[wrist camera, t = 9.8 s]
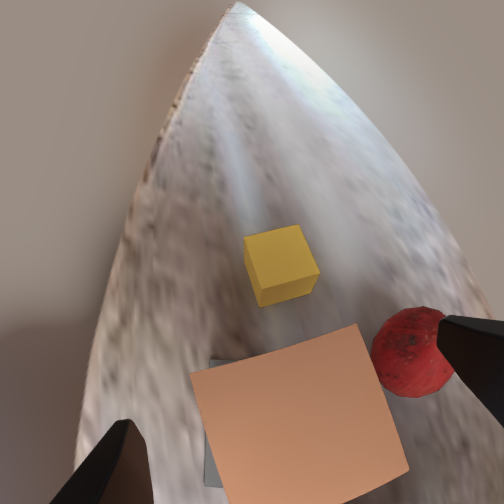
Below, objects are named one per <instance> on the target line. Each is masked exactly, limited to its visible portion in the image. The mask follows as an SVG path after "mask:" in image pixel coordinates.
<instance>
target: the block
mask: <svg viewBox="0 0 504 504" xmlns="http://www.w3.org/2000/svg"><path fill="white" fill-rule="evenodd" d="M244 263H245V266H246V269H247V272H248V275H249V278H250V281H251V284H252V287H253V290H254V293H255V296H256V299H257V302H258V305H259V308H261V307H265V306H268V305H272V304H275V303H279V302H282V301H286V300H289V299H293V298H296V297H300V296H303V295H306V294H310V293H311V292H312V289H313V287H314V285H315V283H316V281H317V279H318V276H319V274H320V271H319V269H318V267H317V264H316V262H315V260H314V258H313V255H312V253H311V251H310V248H309V246H308V244H307V242H306V239H305V237H304V235H303V233H302V231H301V228H300V226H299V224H297V225H292V226H288V227H284V228H280V229H275V230H271V231H267V232H263V233H259V234H254V235H250V236H246V237H244Z"/></svg>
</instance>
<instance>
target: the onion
mask: <svg viewBox="0 0 504 504" xmlns="http://www.w3.org/2000/svg"><path fill="white" fill-rule="evenodd" d="M444 317H446V316H445V315H444V314H443V313H442V312H440V311H439V310H435V309H431V308H428V307H424V306H422V307H416V308H408V309H404V310H402V311H400V312H399V313H397V314H396V315H394V316H392V317H391V318H389V319H388V320H387V321H386V322H385V323H384V325H383V326H382V328H381V329H380V331H379V332H378V333H377V335H376V336H375V338H374V339H373V345H372V350H371V356H370V358H371V361H372V363H373V366H374V369H375V371H376V374H377V376H378V379H379V381H380V383H381V384H382V385H383V386H384V388H386V389H387V390H389V391H391V392H392V393H394V394H396V395H397V396H401V397H412V398H419V397H422V396H425V395H428V394H431V393H434V392H436V391H438V390H439V389H440V388H441V387H442V386H443V385H444V384H445V383H446V382H447V381H448V380H449V379H450V378H451V376H452V375H453V373H454V369H453V368H452V367H451V365H450V364H449V363H448V361H447V360H446V359H445V357H444V356H443V355H442V353H441V352H440V351H439V349H438V348H437V345H436V339H437V331H438V323H439V321H440V320H441V319H442V318H444Z"/></svg>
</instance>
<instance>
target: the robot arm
mask: <svg viewBox="0 0 504 504" xmlns="http://www.w3.org/2000/svg"><path fill="white" fill-rule="evenodd" d="M436 345H437V348H438V349H439V351H440V352H441V353H442V355H443V356H444V357H445V359H446V360H447V361H448V363H449V364H450V365H451V367H452V368H453V369H454V371H455V372H456V373H457V375H458V376H459V377H460V379H461V380H462V381H463V382H464V383H465V385H466V386H467V387H468V388H469V389H470V390H471V391H472V392H473V393H474V395H475V396H476V397H477V398H478V399H479V400H480V401H481V402H482V403H483V405H484V406H485V407H486V408H487V409H488V410H489V411H490V413H491V414H492V415H493V416H494V417H495V418H496V419H497V421H498V422H499V423H500V424H501V425H502V426H503V428H504V321H498V320H489V319H481V318H472V317H464V316H456V315H448V316H446V317H444V318H442V319H441V320H440V321H439V323H438V331H437V339H436ZM50 504H154V500H153V490H152V483H151V476H150V470H149V463H148V455H147V447H146V443H145V440H144V438H143V437H142V435H141V433H140V432H139V430H138V428H137V427H136V425H135V423H134V422H133V421H132V420H131V419H124V420H118V421H116V422H115V423H114V424H113V425H112V426H111V428H110V429H109V430H108V431H107V433H106V434H105V435H104V436H103V437H102V439H101V440H100V441H99V442H98V444H97V445H96V446H95V447H94V449H93V450H92V451H91V452H90V454H89V455H88V456H87V457H86V459H85V460H84V461H83V462H82V464H81V465H80V466H79V467H78V468H77V470H76V471H75V472H74V473H73V475H72V476H71V477H70V479H69V480H68V481H67V482H66V483H65V485H64V486H63V487H62V488H61V490H60V491H59V492H58V493H57V495H56V496H55V497H54V498H53V499H52V501H51V502H50Z"/></svg>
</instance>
